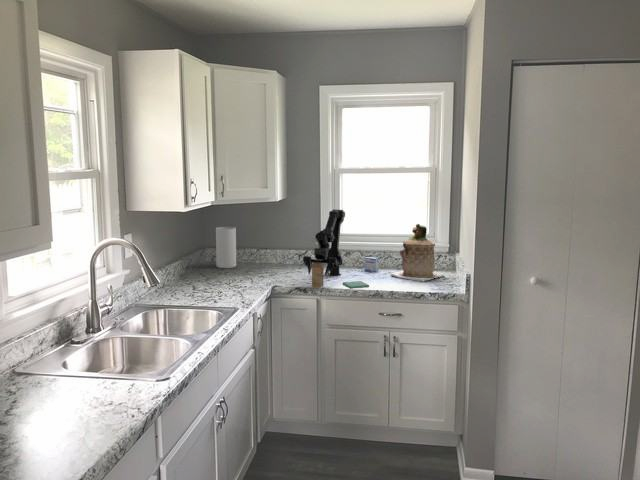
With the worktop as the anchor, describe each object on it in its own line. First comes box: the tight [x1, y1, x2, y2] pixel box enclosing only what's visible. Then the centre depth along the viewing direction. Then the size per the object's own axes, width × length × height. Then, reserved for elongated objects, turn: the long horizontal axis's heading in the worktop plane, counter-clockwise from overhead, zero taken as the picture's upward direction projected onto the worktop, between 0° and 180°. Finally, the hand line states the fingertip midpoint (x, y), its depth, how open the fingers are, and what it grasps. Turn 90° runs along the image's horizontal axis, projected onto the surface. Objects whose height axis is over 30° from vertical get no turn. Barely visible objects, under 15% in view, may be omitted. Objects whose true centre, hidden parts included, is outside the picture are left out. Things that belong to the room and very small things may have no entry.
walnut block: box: [311, 263, 325, 289], centre depth 297 cm, size 5×5×12 cm
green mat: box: [342, 280, 370, 289], centre depth 301 cm, size 11×11×1 cm
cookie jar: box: [389, 223, 445, 283], centre depth 324 cm, size 25×25×32 cm
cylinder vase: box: [215, 226, 237, 269], centre depth 350 cm, size 12×12×25 cm
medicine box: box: [364, 256, 380, 273], centre depth 340 cm, size 8×4×9 cm, turn 62°
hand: (317, 274), depth 296 cm, fingers open, 9 cm apart
